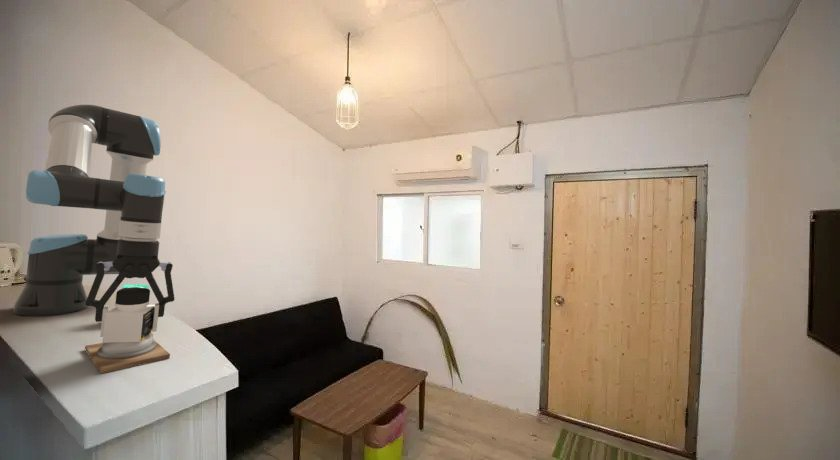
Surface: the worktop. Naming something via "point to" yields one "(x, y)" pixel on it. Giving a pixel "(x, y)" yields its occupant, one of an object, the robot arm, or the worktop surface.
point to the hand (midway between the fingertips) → (129, 332)
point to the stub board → (125, 354)
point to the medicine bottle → (129, 317)
